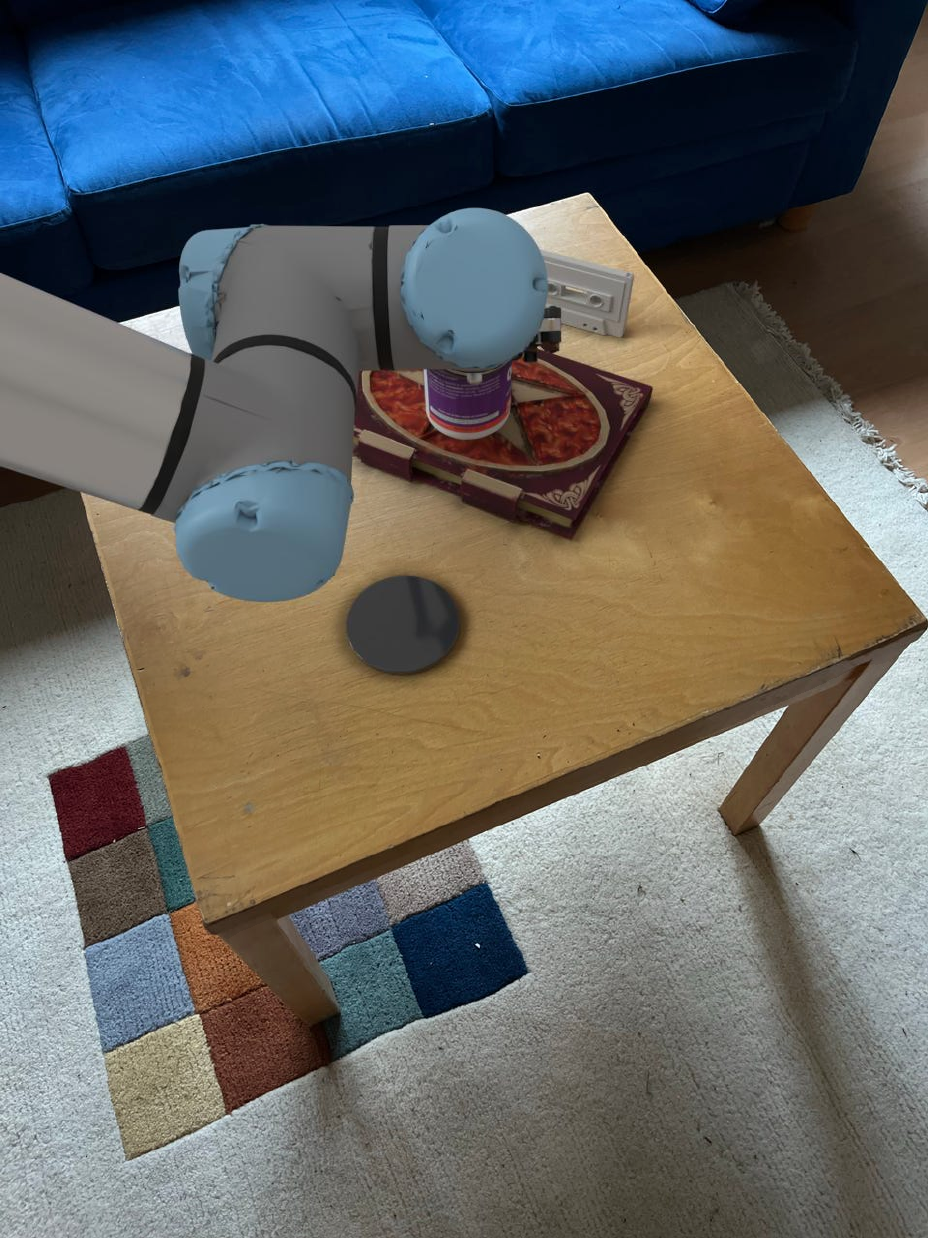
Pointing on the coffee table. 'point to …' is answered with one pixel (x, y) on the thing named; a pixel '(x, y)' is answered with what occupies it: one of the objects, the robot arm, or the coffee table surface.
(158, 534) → the coffee table surface
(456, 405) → the pill bottle
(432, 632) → the coaster
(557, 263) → the cassette
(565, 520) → the book
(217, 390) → the robot arm
